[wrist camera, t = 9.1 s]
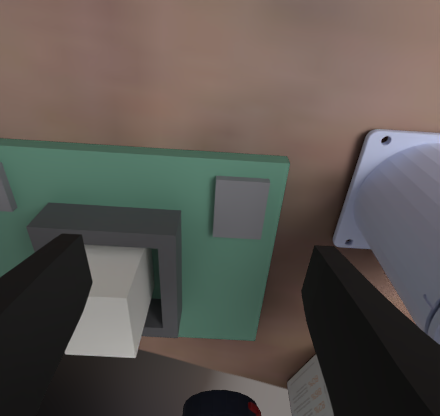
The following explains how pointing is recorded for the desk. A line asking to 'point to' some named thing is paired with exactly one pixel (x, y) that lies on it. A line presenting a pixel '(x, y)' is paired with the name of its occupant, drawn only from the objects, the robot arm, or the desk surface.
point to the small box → (309, 391)
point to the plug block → (114, 302)
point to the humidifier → (220, 404)
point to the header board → (154, 222)
